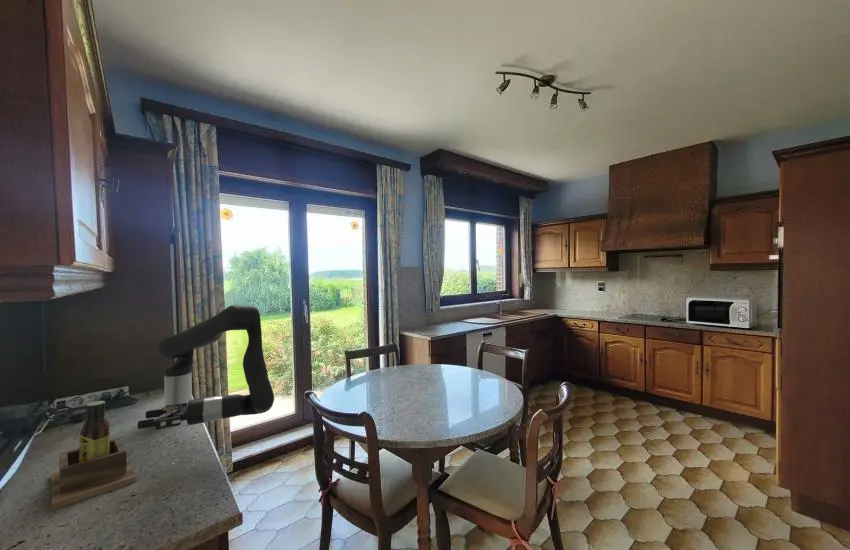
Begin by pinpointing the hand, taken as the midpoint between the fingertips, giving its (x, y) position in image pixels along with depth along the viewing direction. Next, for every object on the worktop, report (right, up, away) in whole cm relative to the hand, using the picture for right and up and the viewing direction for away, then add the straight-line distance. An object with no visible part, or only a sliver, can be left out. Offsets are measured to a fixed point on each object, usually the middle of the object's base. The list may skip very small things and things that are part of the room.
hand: (142, 419), depth 103 cm
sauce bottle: (-10, -13, -5) cm, 17 cm away
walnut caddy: (-10, -15, -5) cm, 18 cm away
